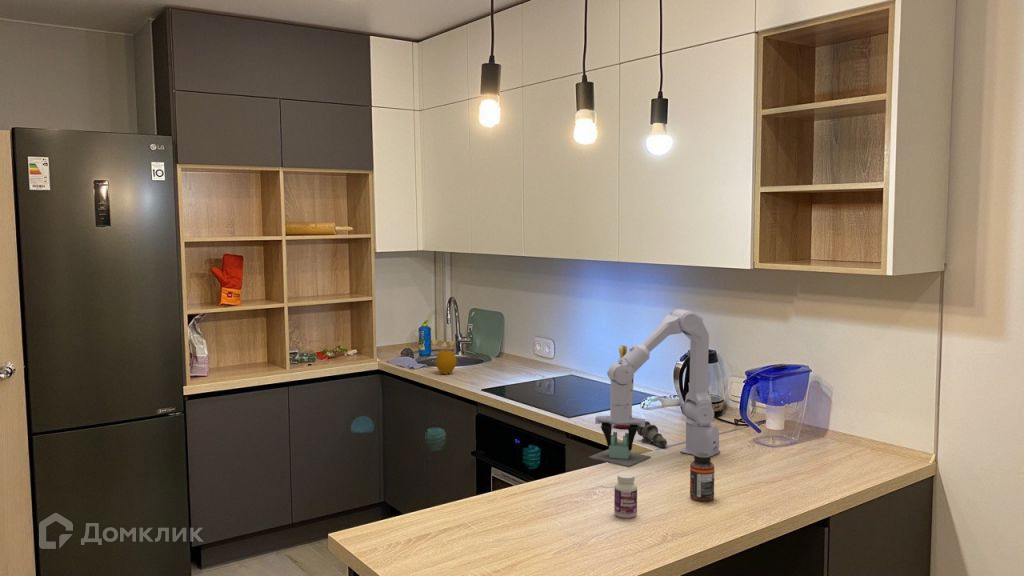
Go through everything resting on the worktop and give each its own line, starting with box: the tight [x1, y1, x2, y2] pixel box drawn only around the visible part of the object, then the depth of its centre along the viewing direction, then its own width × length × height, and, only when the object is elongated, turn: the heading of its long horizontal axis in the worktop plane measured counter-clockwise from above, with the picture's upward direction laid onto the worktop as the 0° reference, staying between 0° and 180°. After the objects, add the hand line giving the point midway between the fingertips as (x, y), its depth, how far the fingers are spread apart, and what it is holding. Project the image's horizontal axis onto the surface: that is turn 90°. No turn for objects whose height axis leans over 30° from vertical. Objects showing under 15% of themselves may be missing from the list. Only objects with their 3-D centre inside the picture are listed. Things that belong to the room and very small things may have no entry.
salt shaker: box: [636, 420, 668, 448], centre depth 248 cm, size 6×6×12 cm
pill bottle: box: [613, 472, 638, 519], centre depth 188 cm, size 5×5×10 cm
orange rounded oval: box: [435, 349, 457, 375], centre depth 369 cm, size 10×10×12 cm
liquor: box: [613, 345, 635, 430], centre depth 269 cm, size 7×7×28 cm
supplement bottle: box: [689, 453, 715, 502], centre depth 199 cm, size 6×6×11 cm
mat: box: [588, 448, 652, 468], centre depth 234 cm, size 14×12×1 cm
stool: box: [609, 431, 632, 459], centre depth 234 cm, size 6×6×6 cm
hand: (619, 448), depth 234 cm, fingers closed on stool, 5 cm apart
